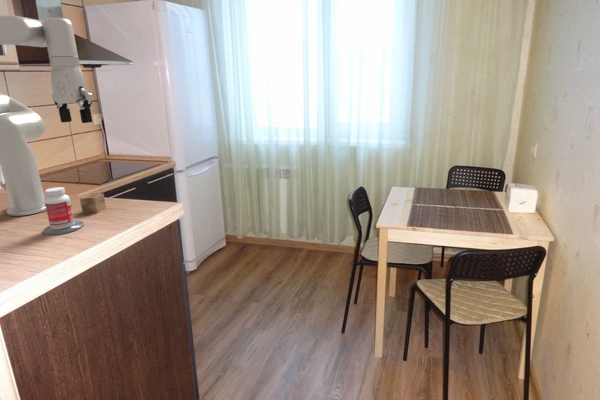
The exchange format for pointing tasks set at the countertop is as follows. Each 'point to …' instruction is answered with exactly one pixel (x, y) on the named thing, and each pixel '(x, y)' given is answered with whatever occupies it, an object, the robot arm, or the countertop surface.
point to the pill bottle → (58, 208)
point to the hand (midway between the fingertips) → (76, 122)
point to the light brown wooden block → (92, 203)
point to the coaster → (75, 227)
